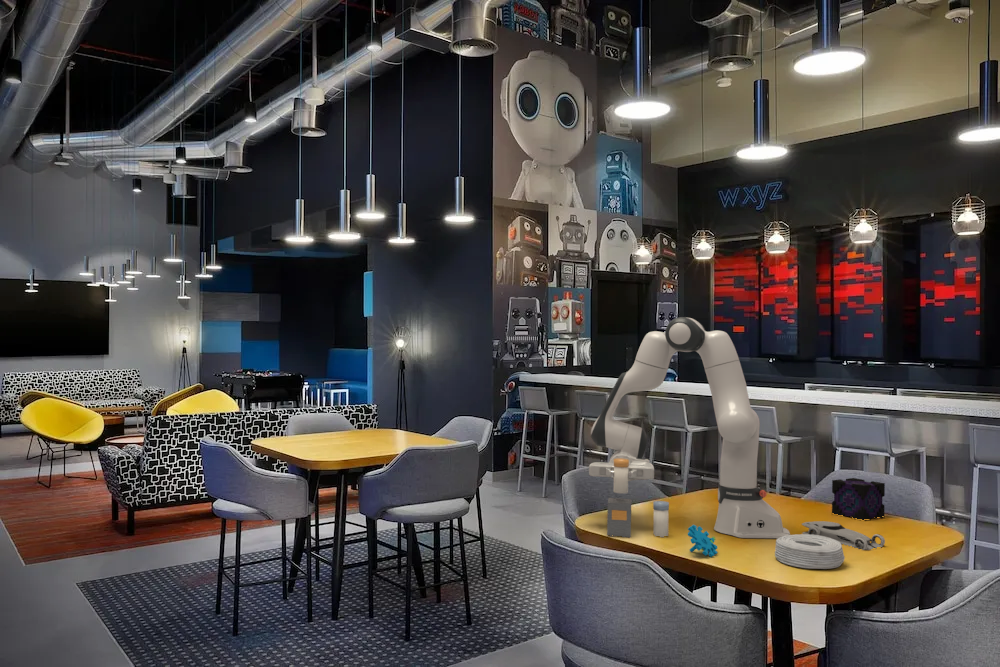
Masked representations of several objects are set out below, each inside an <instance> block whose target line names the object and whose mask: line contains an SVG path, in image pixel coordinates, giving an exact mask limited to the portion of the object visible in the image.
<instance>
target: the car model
mask: <svg viewBox="0 0 1000 667" xmlns="http://www.w3.org/2000/svg"><path fill="white" fill-rule="evenodd" d="M801 526H804V527H805V528H808V530H807V531H803V532H801V534H810V535H819V536H824V537H828V538H831V539H834V540H836V541H838V542H840V543H841V545H843V544H844V545H843V546H847V545H848V546H847V547H850V546H852V547H851V548H853V547H854V549H856V548H858V549H857V550H860V549H862V550H861V551H872V550H871V549H873V548H875V549H877V547H882V548H883V547H884V545H886V544H885V543H886V539H885V537H884V536H883V535H881V534H878V533H876V534H873V535H872V537H871V538H870V537H869V536H867V535H866V534H863V533H861V532H858V531H855V530H852V529H850V528H845V527H844V526H843V525H841V524H840V523H839V522H833V521H823V520H822V521H820V520H818V521H817V520H816V521H815V520H814V521H805V522H803V523H801ZM876 538H878V539H879V540H880V543H878V542H876Z"/></svg>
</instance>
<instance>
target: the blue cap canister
mask: <svg viewBox="0 0 1000 667" xmlns="http://www.w3.org/2000/svg"><path fill="white" fill-rule="evenodd" d="M652 507H653V508H652V509H653V527H652V528H653V533H652V534H654V535H655V536H654V535H653V536H654V537H656V536H660V537H659V538H665V537H664V536H668V537H669V509H670V502H669V501H665V500H655V501H653V506H652Z"/></svg>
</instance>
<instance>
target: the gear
mask: <svg viewBox="0 0 1000 667" xmlns="http://www.w3.org/2000/svg"><path fill="white" fill-rule="evenodd" d="M703 529H704V528H703V527H701V526H697V525H695V524H692V525H691V526H689V527H688V528H687V530H688V532H687V536H688V537H689V538H690V543H691V544H692V545H693V544H694V545H693V546H692V547H691V548H690V549H689V552H690V553H693V552H695V551H696V550H697V551H699V552H700V550H702V555H704V556H705V557H706V556H709V557H711V558H713V557H714V556H716V555H717V554H718V550H717V549H718V545H716V544H715V541H716V537H715V536H712V537H709V536H710V533H709V532H708V531H707V530H705V531H704V532H702V531H703ZM712 556H713V557H712Z"/></svg>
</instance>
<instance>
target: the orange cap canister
mask: <svg viewBox="0 0 1000 667" xmlns="http://www.w3.org/2000/svg"><path fill="white" fill-rule="evenodd" d="M628 467H629V459H622V458H617V459H614V479H613V490H612V491H613V493H615V494H628V493H629V481H628Z"/></svg>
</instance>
